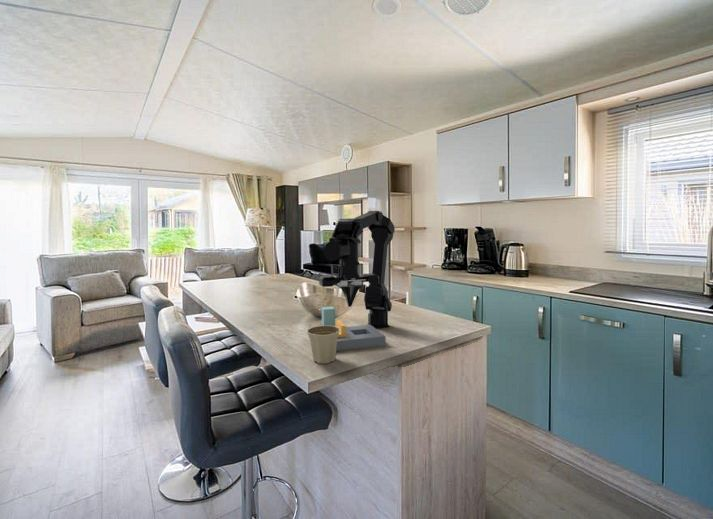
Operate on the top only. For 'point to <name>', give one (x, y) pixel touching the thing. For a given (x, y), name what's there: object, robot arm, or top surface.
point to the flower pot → (323, 342)
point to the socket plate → (360, 338)
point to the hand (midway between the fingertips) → (349, 306)
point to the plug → (328, 316)
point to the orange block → (341, 328)
